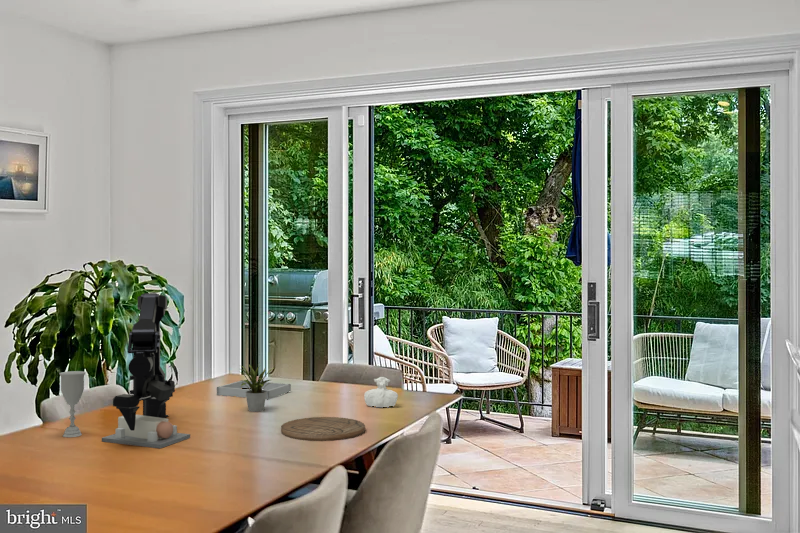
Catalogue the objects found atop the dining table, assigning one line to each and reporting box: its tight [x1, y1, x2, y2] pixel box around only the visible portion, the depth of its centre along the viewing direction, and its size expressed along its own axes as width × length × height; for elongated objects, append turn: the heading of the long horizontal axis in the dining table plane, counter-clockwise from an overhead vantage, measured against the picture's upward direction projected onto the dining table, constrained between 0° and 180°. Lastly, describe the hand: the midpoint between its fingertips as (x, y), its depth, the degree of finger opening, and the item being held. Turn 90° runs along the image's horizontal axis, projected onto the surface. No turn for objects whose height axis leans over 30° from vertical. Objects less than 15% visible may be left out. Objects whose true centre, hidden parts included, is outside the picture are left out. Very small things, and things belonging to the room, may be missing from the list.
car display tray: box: [216, 380, 292, 400], centre depth 282 cm, size 22×17×3 cm
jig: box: [101, 424, 191, 449], centre depth 209 cm, size 20×13×4 cm, turn 69°
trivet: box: [280, 416, 366, 442], centre depth 222 cm, size 25×25×2 cm
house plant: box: [238, 363, 277, 413], centre depth 251 cm, size 14×14×16 cm
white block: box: [117, 414, 174, 440], centre depth 209 cm, size 16×5×5 cm, turn 64°
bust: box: [363, 376, 399, 408], centre depth 260 cm, size 12×8×11 cm
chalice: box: [58, 370, 87, 438], centre depth 214 cm, size 7×7×18 cm
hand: (143, 426), depth 210 cm, fingers open, 9 cm apart
